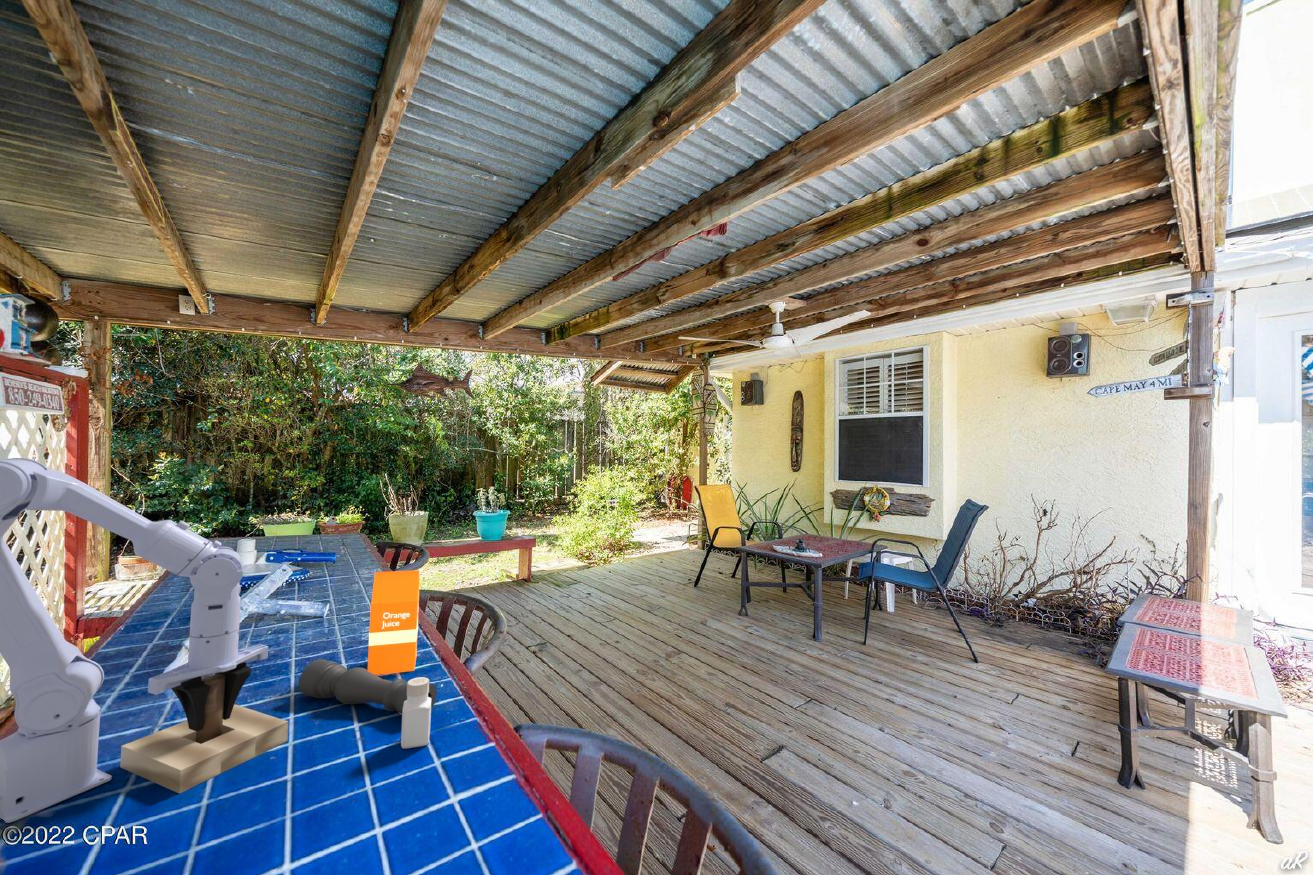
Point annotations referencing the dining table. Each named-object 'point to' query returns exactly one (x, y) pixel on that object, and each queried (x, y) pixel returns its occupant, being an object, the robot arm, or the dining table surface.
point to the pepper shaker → (416, 714)
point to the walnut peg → (213, 709)
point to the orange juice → (394, 622)
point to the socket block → (202, 749)
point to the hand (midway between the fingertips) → (209, 723)
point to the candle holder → (355, 686)
